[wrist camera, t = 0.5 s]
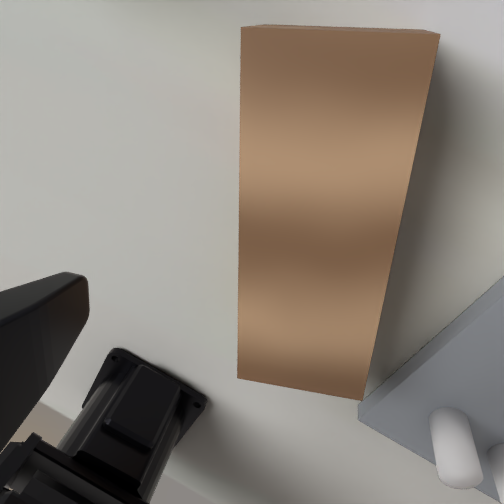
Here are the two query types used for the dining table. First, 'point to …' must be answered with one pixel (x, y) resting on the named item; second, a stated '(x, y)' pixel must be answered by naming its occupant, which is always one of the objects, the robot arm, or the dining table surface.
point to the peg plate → (452, 399)
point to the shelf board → (322, 195)
